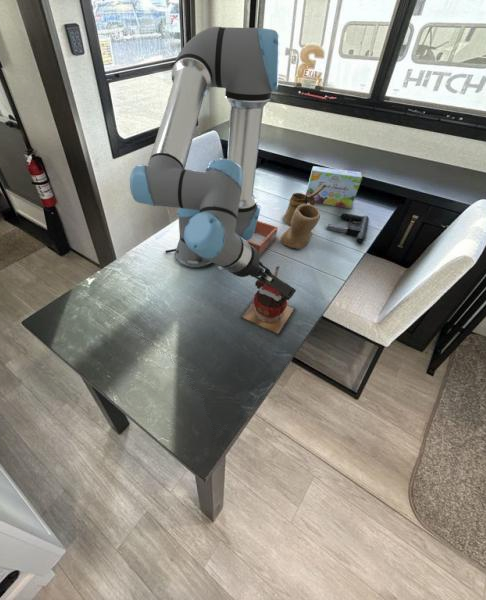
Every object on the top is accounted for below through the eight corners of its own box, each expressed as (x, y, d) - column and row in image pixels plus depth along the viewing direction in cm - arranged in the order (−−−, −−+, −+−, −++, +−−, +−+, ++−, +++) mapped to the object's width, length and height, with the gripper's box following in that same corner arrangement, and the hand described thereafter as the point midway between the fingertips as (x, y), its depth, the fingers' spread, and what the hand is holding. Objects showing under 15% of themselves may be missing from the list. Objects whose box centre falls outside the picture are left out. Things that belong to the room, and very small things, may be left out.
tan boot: (304, 255, 118) (314, 219, 108) (275, 244, 123) (282, 209, 112) (319, 237, 127) (329, 202, 116) (292, 227, 132) (300, 193, 121)
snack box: (304, 202, 148) (312, 170, 137) (305, 196, 152) (312, 165, 141) (351, 209, 144) (362, 176, 133) (350, 203, 148) (362, 171, 137)
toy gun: (325, 231, 126) (368, 239, 120) (333, 209, 139) (372, 215, 133) (323, 238, 128) (365, 246, 123) (331, 216, 141) (370, 222, 136)
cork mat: (241, 317, 95) (241, 316, 95) (259, 294, 102) (259, 293, 102) (278, 334, 91) (278, 333, 90) (293, 309, 98) (294, 308, 97)
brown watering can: (311, 230, 130) (323, 189, 118) (280, 222, 135) (288, 181, 122) (316, 220, 136) (328, 180, 123) (286, 213, 140) (295, 173, 128)
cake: (290, 310, 97) (303, 264, 84) (276, 329, 91) (289, 283, 79) (259, 296, 101) (268, 250, 88) (245, 313, 96) (252, 267, 83)
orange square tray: (227, 245, 122) (227, 234, 118) (245, 227, 131) (247, 217, 128) (258, 257, 117) (260, 246, 113) (275, 237, 126) (277, 227, 123)
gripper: (194, 244, 76) (235, 268, 94) (268, 302, 63) (300, 317, 80) (211, 218, 75) (249, 247, 92) (291, 271, 61) (318, 294, 79)
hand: (273, 280), depth 86 cm, fingers open, 13 cm apart
